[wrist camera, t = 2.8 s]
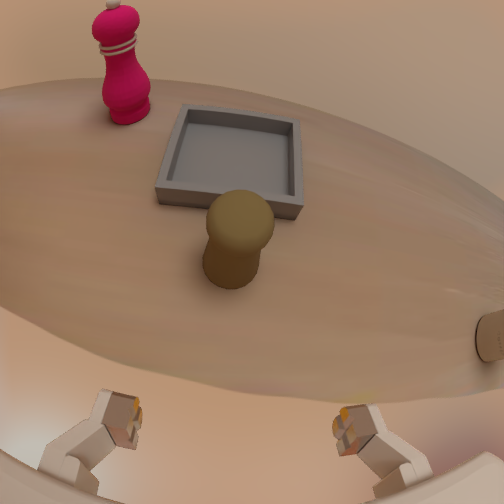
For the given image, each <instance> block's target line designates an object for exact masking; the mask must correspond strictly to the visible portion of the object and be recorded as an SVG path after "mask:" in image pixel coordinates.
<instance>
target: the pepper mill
mask: <svg viewBox="0 0 504 504" xmlns="http://www.w3.org/2000/svg"><path fill="white" fill-rule="evenodd" d="M106 7H107V8H108V9H106V10H104V11H103V12H101V13H100V14H99V15H98V16H97V17H96V19H95V20H94V22H93V25H92V34H93V37H94V38H95V39H96V40H97V41H99V42H100V44H99V48H100V54H102V55H104V57H105V61H106V76H105V80H104V83H103V88H102V96H103V101H104V103H105V105H106V106H108V107H109V108H110V114H111V117H112V120H113V121H114V122H115V123H118V124H131V123H134V122H137V121H139V120H141V119H142V118H144V117H145V116H146V115H147V113H148V112H149V109H150V103H149V98H148V95H149V92H150V88H151V87H150V81H149V78H148V76H147V74H146V73H145V71H144V70H143V68H142V67H141V66H140V64H139V63H138V61H137V59H136V55H135V49H134V48H135V45H136V44H137V39H136V38H137V35H136V33H134V32H135V31H136V29H137V28H138V26H139V23H140V22H139V21H140V19H139V15H138V12H137V11H136V10H135V9H134V8H133V7H131V6H126V5H120V0H108V1H107V2H106Z"/></svg>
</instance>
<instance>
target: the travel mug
mask: <svg viewBox="0 0 504 504" xmlns="http://www.w3.org/2000/svg"><path fill="white" fill-rule="evenodd" d="M477 349H478V353H479V355H480V357H481V359H482V360H483V361H485V362H488V361H495V360H502V359H504V309H503V310H500V311H497V312H494V313H490V314H487V315H484V316H483V317H482V318H481V320H480V322H479V325H478V329H477Z"/></svg>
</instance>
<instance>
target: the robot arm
mask: <svg viewBox="0 0 504 504" xmlns="http://www.w3.org/2000/svg"><path fill="white" fill-rule="evenodd" d="M141 423H142V409H141V407H139V399H138V397H135V396H130V395H126V394H121V393H117V392H114V391H110V390H105V389H101V390H100V392H99V394H98V396H97V399H96V401H95V404H94V407H93V410H92V412H91V415H90V417H89V420H87V419H85V420H83V421H82V422H80V423H79V424H77V425H76V426H75V427H73V428H72V429H70V430H68V431H67V432H65V433H64V434H63V435H61V436H60V437H58V438H56V439H55V440H53V441H52V442H50V443H49V444H47V445H46V448H45V450H44V453H43V456H42V458H41V461H40V464H39V467H38V470H35V469H34V468H32V467H30V466H28V465H26V464H24V463H23V462H21V461H19V460H17V459H15V458H14V457H12V456H11V455H9V454H7V453H6V452H4V451H2V450H1V449H0V504H124V503H120V502H117V501H113V500H109V499H106V498H103V497H100V496H97V490H98V486H99V481H98V480H97V478H96V477H95V476H94V475H93V474H92V473H91V472H90V470H91V469H92V468H94V467H95V466H96V465H97V464H98V463H99V462H100V461H101V460H102V459H103V458H104V457H106V456H107V455H108V454H109V453H110V452H111V451H112V450H113V449H114V448H115V447H116V446H119V447H123V448H128V449H133V450H136V446H137V442H138V434H137V430H139V429H140V428H141ZM332 429H333V435H334V437H335V438H337V439H338V442H337V444H336V445H337V449H338V453H339V456H346V455H353V454H357V456H358V457H359V458H360V459H361V460H362V461H363V462H364V463H365V464H366V465H367V466H368V467H369V468H370V469H371V470H372V471H374V472H375V473H376V474H377V475H378V476H379V477H380V478H381V479H382V480H380V481H379V482H378V483H376V484H375V485H374V486H373V491H374V494H375V497H376V499H375V500H371V501H368V502H364V503H361V504H504V462H503V461H502V460H501V459H500V458H498V457H496V456H495V455H493V454H491V453H489V452H486V451H484V452H480V453H478V454H477V455H475V456H473V457H472V458H470V459H468V460H466V461H465V462H463V463H461V464H459V465H457V466H455V467H454V468H452V469H450V470H448V471H446V472H444V473H442V474H440V475H437V476H435V477H434V474H433V472H432V470H431V467H430V465H429V463H428V460H427V458H426V456H425V455H424V454H423V453H421V452H420V451H418V450H417V449H415V448H414V447H412V446H411V445H410V444H408V443H407V442H406V441H404V440H403V439H401V438H400V437H399V436H397V435H396V434H395V433H393V432H392V431H388V429H387V427H386V425H385V422H384V420H383V418H382V415H381V413H380V411H379V409H378V406H377V405H376V404H375V403H371V404H362V405H355V406H347V407H343V408H342V409H341V410H340V415H338V416H337V417H336V418H335V419H334V421H333V426H332Z"/></svg>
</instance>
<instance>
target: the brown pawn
mask: <svg viewBox="0 0 504 504" xmlns="http://www.w3.org/2000/svg"><path fill="white" fill-rule="evenodd" d="M206 229H207V232H208V235H209V241H208V244H207V246H206V249H205V252H204V255H203V269H204V272H205V274H206V276H207V277H208V278H209V280H210V281H211V282H213V283H214V284H216V285H217V286H219V287H222V288H225V289H238V288H241V287H243V286H246V285H247V284H248V283H249V282H251V281H252V280H253V278H254V277H255V275H256V274H257V270H258V266H259V259H260V252H261V249H262V248H264V247H265V246H266V244H267V243H268V241H269V240H270V239H271V237H272V234H273V230H274V214H273V212H272V210H271V207H270V205H269V204H268V203H267V202H266V201H265V200H264V199H263V198H262V197H261V196H259V195H258V194H256V193H255V192H252V191H248V190H238V189H236V190H232V191H228V192H225V193H224V194H222V195H220V196H219V197H217V198H216V200H215V201H214V202H213V203H212V204H211V206H210V208H209V211H208V213H207V216H206Z"/></svg>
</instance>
